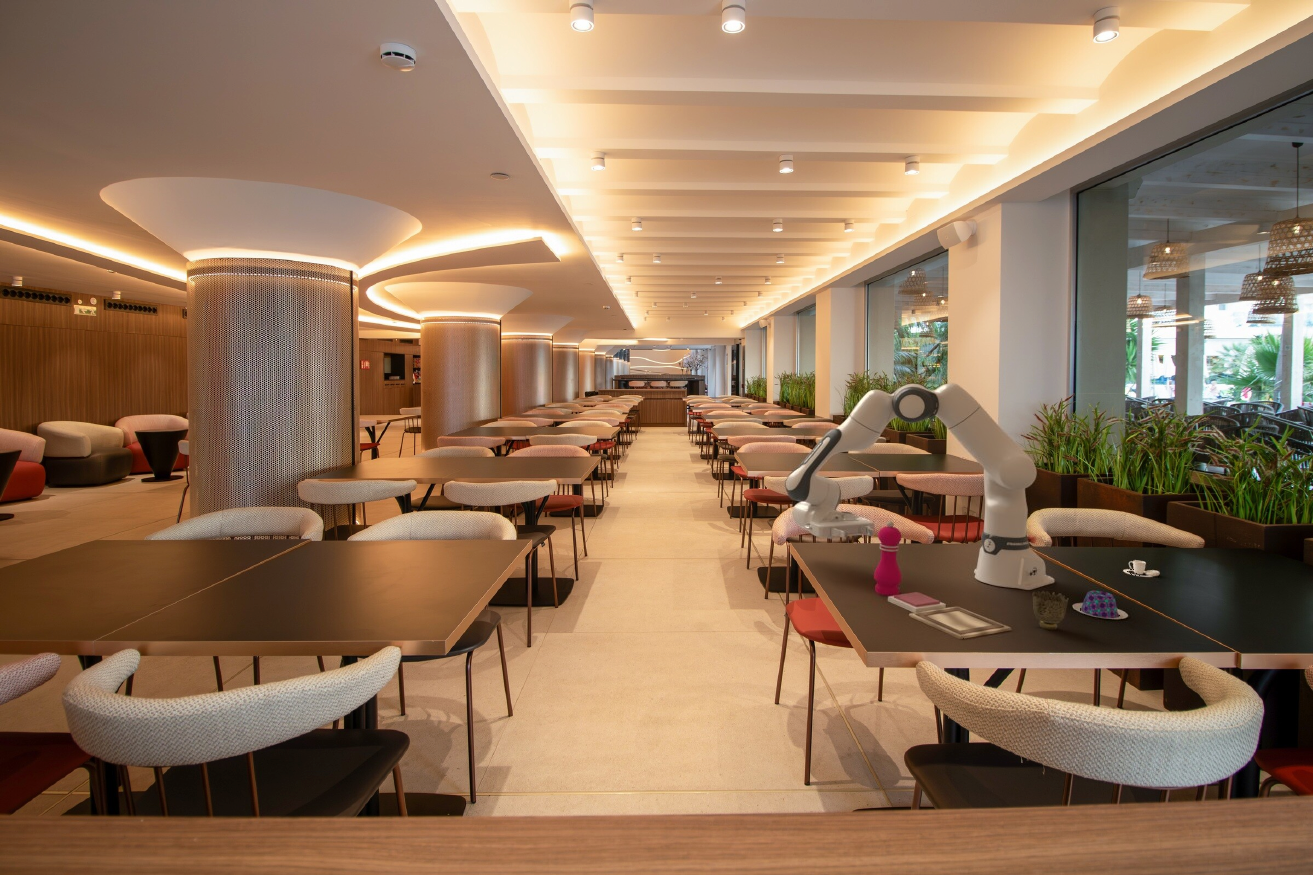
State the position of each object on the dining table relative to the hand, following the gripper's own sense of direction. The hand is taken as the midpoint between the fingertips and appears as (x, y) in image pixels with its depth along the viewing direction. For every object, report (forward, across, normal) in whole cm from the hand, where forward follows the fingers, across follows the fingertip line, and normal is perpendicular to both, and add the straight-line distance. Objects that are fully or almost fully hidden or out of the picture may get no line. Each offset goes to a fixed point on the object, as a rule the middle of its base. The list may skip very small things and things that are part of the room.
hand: (859, 533), depth 200 cm
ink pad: (+23, 0, +14) cm, 27 cm away
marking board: (+37, 0, +13) cm, 40 cm away
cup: (+47, +18, +13) cm, 53 cm away
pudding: (+44, +42, +13) cm, 62 cm away
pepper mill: (+12, 0, +14) cm, 19 cm away
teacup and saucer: (+26, +87, +13) cm, 92 cm away
